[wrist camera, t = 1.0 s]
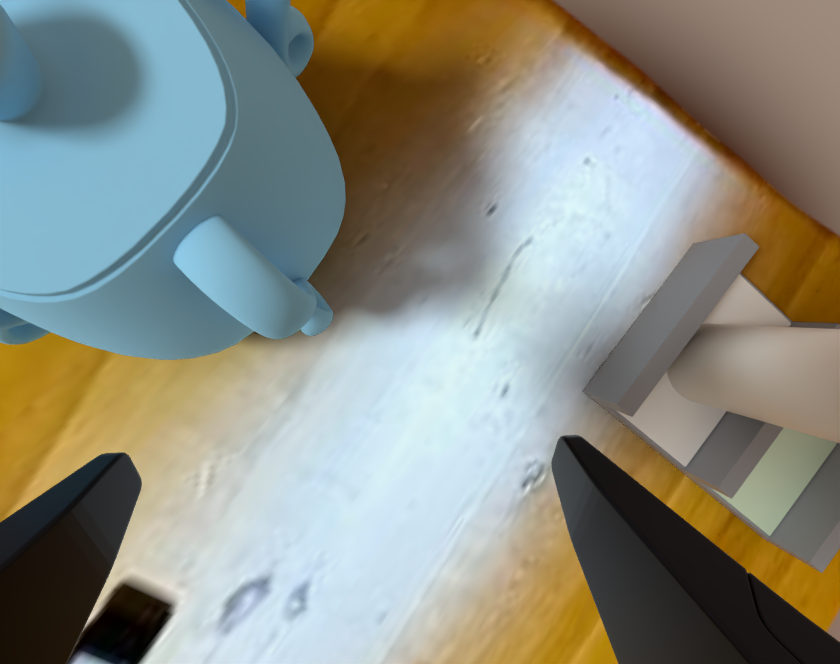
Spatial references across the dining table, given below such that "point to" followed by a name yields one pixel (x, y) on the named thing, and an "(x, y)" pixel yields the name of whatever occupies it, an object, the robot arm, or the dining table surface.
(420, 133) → the dining table surface
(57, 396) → the dining table surface
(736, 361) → the white capped canister
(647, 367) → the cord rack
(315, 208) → the decorative pot
